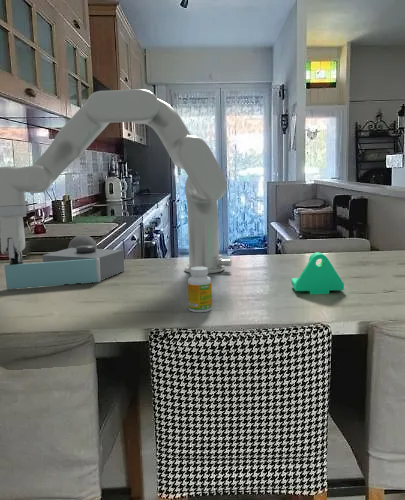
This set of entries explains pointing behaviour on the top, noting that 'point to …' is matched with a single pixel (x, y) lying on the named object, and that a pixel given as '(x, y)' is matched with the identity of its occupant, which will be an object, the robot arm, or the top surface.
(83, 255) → the grey box with knob
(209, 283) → the supplement bottle
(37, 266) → the door
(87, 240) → the decorative ball
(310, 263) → the camera mount
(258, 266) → the top surface
